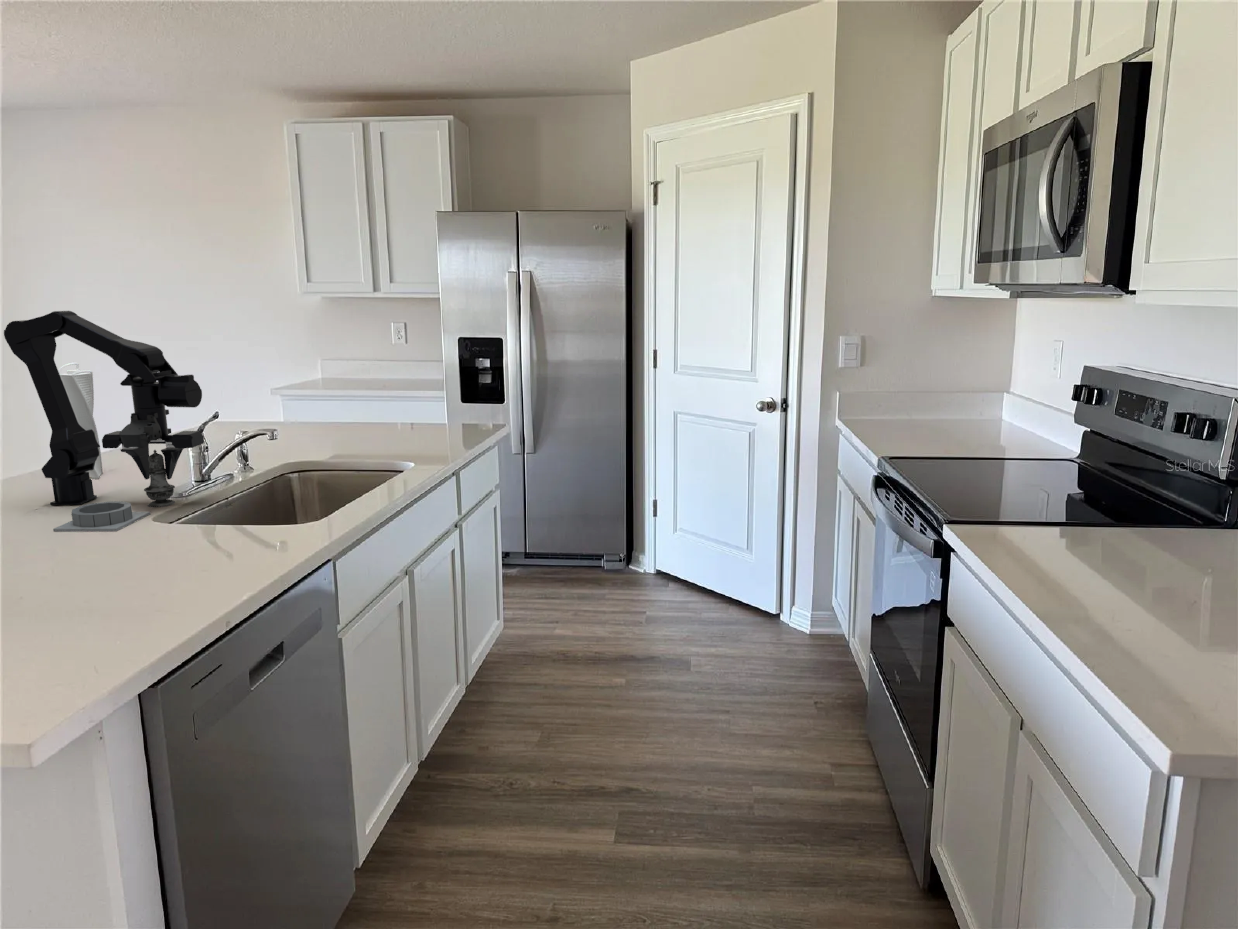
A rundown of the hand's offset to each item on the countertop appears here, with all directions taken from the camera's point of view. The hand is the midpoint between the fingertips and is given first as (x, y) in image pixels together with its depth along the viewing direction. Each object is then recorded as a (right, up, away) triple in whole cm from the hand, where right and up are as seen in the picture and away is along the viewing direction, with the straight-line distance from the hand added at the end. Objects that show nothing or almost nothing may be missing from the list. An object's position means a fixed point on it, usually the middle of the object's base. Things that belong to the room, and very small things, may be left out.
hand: (158, 479), depth 177 cm
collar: (-4, -8, -13) cm, 16 cm away
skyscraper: (-32, 0, +26) cm, 42 cm away
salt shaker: (0, -6, +1) cm, 6 cm away
